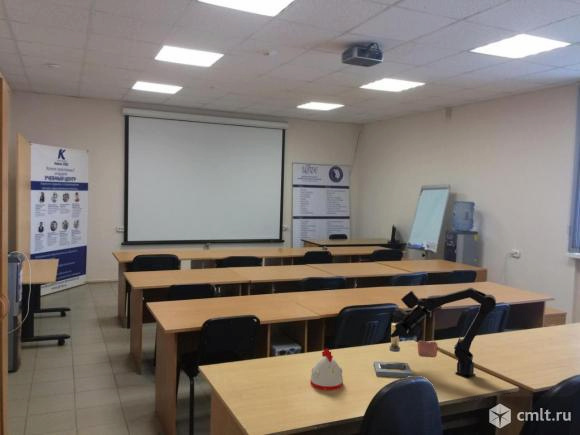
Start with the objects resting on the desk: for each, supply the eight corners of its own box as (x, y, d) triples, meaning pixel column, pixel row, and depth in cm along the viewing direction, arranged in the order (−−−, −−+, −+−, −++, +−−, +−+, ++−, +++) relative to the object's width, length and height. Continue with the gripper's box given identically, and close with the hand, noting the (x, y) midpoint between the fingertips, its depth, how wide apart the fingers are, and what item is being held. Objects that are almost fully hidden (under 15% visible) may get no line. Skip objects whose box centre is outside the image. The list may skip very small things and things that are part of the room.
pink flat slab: (418, 341, 257) (418, 339, 257) (436, 343, 254) (436, 340, 254) (416, 357, 232) (416, 353, 232) (437, 359, 229) (437, 356, 229)
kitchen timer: (319, 392, 186) (320, 356, 185) (305, 380, 198) (305, 346, 198) (348, 387, 191) (349, 352, 191) (333, 375, 204) (333, 342, 203)
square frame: (407, 367, 216) (407, 362, 216) (412, 377, 203) (412, 372, 203) (373, 365, 217) (373, 361, 217) (376, 375, 204) (376, 371, 204)
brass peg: (402, 350, 220) (402, 324, 220) (395, 352, 217) (396, 325, 217) (393, 347, 224) (394, 321, 224) (387, 349, 221) (387, 323, 220)
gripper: (407, 299, 227) (385, 318, 232) (399, 306, 210) (376, 327, 215) (423, 316, 223) (400, 335, 228) (416, 325, 207) (392, 346, 212)
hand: (392, 335), depth 221 cm, fingers closed on brass peg, 3 cm apart
